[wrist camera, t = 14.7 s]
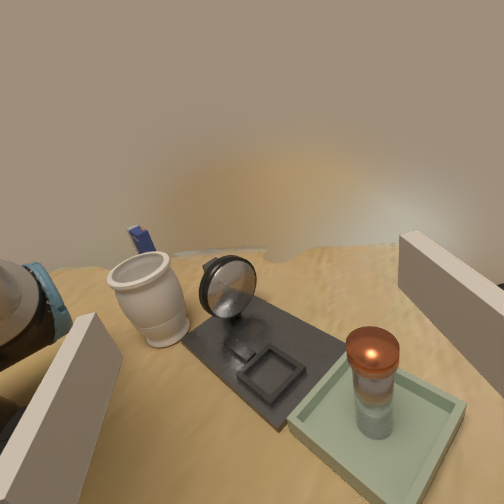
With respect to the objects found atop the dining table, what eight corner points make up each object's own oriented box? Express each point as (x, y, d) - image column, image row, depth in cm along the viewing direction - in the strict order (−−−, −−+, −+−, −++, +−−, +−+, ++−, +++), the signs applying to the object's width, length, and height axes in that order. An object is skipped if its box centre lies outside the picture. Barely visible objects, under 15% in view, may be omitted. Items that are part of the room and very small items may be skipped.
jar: (203, 312, 61) (178, 248, 54) (182, 354, 53) (150, 285, 45) (157, 313, 64) (128, 252, 57) (130, 352, 56) (92, 287, 48)
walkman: (164, 269, 80) (147, 229, 74) (155, 275, 78) (136, 234, 72) (152, 261, 85) (135, 222, 79) (143, 266, 84) (124, 227, 78)
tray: (290, 432, 38) (286, 417, 36) (353, 358, 45) (352, 343, 43) (405, 534, 28) (407, 521, 26) (463, 419, 35) (467, 403, 33)
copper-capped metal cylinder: (344, 424, 36) (335, 348, 30) (366, 395, 39) (362, 319, 32) (383, 453, 33) (383, 374, 27) (404, 419, 35) (408, 340, 29)
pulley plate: (181, 343, 55) (154, 283, 48) (247, 294, 63) (231, 237, 56) (278, 432, 38) (256, 359, 31) (351, 350, 46) (345, 278, 39)
